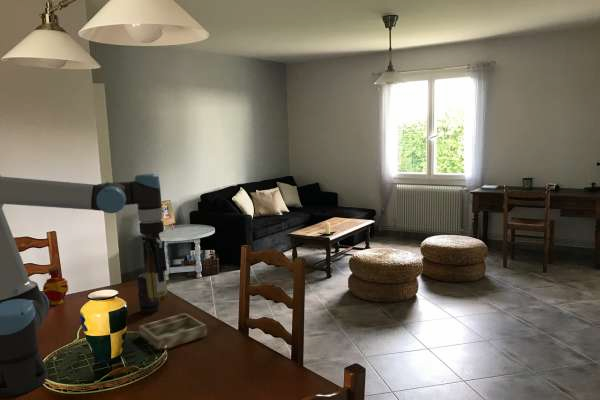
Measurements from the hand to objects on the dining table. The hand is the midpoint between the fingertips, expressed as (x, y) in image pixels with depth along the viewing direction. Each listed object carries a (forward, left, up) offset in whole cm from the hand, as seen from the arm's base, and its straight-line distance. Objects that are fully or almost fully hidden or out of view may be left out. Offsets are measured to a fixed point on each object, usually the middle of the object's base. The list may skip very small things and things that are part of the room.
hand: (156, 288), depth 157 cm
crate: (+6, +3, -20) cm, 21 cm away
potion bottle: (-16, +71, -20) cm, 76 cm away
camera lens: (+10, +33, -20) cm, 40 cm away
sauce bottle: (0, 0, -4) cm, 4 cm away
